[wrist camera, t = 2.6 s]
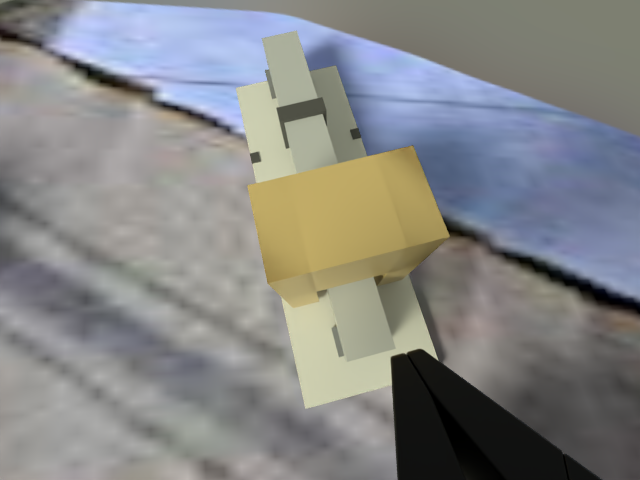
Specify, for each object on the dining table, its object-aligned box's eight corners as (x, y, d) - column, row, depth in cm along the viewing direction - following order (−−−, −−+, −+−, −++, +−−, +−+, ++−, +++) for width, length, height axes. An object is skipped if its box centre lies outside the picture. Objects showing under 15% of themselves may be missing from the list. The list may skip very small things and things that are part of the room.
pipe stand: (437, 369, 19) (469, 377, 15) (306, 406, 19) (299, 425, 14) (335, 73, 26) (336, 18, 22) (238, 95, 26) (219, 44, 21)
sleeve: (402, 279, 20) (449, 236, 12) (293, 308, 19) (267, 283, 11) (381, 220, 21) (413, 145, 13) (279, 246, 21) (247, 185, 13)
